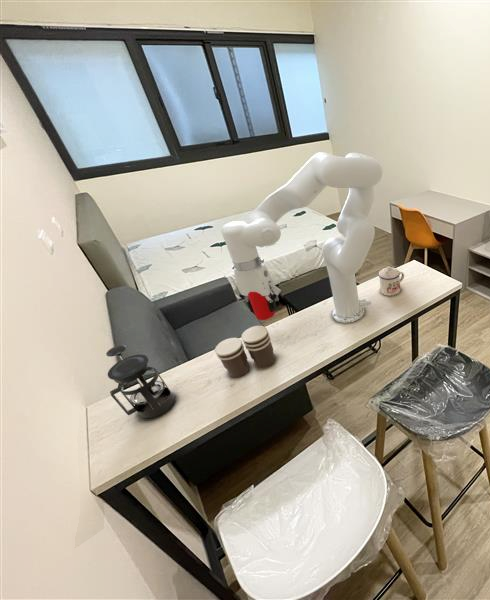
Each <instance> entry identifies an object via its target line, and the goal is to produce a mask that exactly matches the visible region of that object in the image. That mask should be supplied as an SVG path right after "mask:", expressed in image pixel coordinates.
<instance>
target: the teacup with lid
mask: <svg viewBox="0 0 490 600" xmlns="http://www.w3.org/2000/svg"><path fill="white" fill-rule="evenodd" d="M400 275H401V277H400ZM378 277H379V286H380V287H379V289H380V293H381V294H382V295H383V296H389V297H391V296H392V297H393V296H396V295H397V294H399V293H400V292H401V283H402V282H403V281H404V278H405V273H404V272H403V271H400V270H399V269H398V268H396V267H391V266H386V267H385V268H382V269H380V270H379V271H378Z"/></svg>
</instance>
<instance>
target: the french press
mask: <svg viewBox="0 0 490 600" xmlns="http://www.w3.org/2000/svg"><path fill="white" fill-rule="evenodd" d="M126 348H127V346H126V345H124V344H119V345H116V346H113V347H111V348H110V349H109V350H107V351H106V353H105V355H106V356H107V357H109V358H111V357H116V356H117V357H119V358H120V360H119V361H117V362H116V363H115V364H113V365H112V366H111V367H110V368H109V369H108V371H107V378H108V379H110V380H113V381H114V382H115V383H117V387H116V388H114V389H112V390H110V391H109V394H110V396H111V397H112V399H113V400H114V401H115V402H116V404H117V405H118V406H119V407H120V408H121V409H122V410H123V411H124V413H125V414H126V415H127V416H131V415H132V414H135V413H136V412H137V414H138V416H139V418H140V419H142V420H144V421H152V420H155V419H158V418H161V417H162V416H164V415H166V414H167V413H168V412H169V411H171V410H172V408H173V407H174V406H175V404H176V402H177V397H176V395H175V394H174V393H173V392H172V391H171V389H170V388H169V386H168V385H167V383H166V382H165V381H164V380H163V379H164V378H162V376H161V374H159V372H158V371H157V369H156V368H155V367H152V366H148V362H149V358H148V356H147V355H146V354H134V355H130V356H128V357H125V358H124V357H123V356H122V355H123V354H122V353H123V352H124V351H126ZM147 371H149V372H150V371H152V372H155V374H154V376H153V377H152V378H151V379H150V380H149V381H148V382H147V380H146V379H145V377H144V375H145V374H146V372H147ZM158 379H160V380H158ZM135 381H136V382H137V384H138V385H139V387H138V388H136V389H132V390H126V391H125V390H122V388H123V386H124V385H125V384H127V383H131V382H135ZM118 393H121V394H122V395H123V397H124V398H125V399H126V401H128V403H129V404H130V405H131V406H132V408H130V409H127V408H126V407H125V406H124V404H123V403H122V402H121V401H120V399H118V398H117V396H116V394H118ZM128 396H129V397H128ZM162 397H167V398H166V400H164V401H163V403H162V404H160V403H159V402H158V400H157V399H159V398H162ZM148 405H149V406H150V407H151V408H152V409H150V410H147V411H146V410H145V409H146V408H147V406H148Z"/></svg>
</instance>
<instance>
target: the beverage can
mask: <svg viewBox="0 0 490 600" xmlns="http://www.w3.org/2000/svg"><path fill="white" fill-rule="evenodd" d="M269 296H270V295H269ZM248 297H249V300H250V302H251V305H252V308H253V310H254V312H253V313H254V316H255V318H256V319H257V320H259V321H261V322H263V321H269V320H270V319H272V318H273V317H275V315H276V311H275V310H276V309H275V310H274V312H270V309H269V306H268V302H269V301H268V300H267V299H266V298H265V296H262V295H261V294H259V293H257V292H249V293H248ZM270 297H271V296H270Z"/></svg>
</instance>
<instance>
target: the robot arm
mask: <svg viewBox="0 0 490 600" xmlns="http://www.w3.org/2000/svg"><path fill="white" fill-rule="evenodd" d="M382 177H383V167H382V164H381V163H380V162H379V160H377V159H376V158H375V157H372V156H369V155H366V154H364V153H360V152H349V153H347V154H346V156H338V155H335V154H332V153H328V152H324V151H319V152H317V153H315V154H314V155H312V157H310V158H309V160H307V161H306V163H305V164H304V165H303V166H301V168H300V169H299V170H298V171H297V172H296V173H295V174H294V175H293V176H292V177H291V178H290V179H289V180H288V181H287V183H286V184H284V185H283V186H281V187H280V188H278V189H277V190H275V191H274V192H272V193H271V194H269V195H268V196H266V197H265V198H264V199H263V200H262V201H261V202H260V203H259V204H258V205H257V206H256V207H255V208H254V209H253V211H252V212H251V213H250V215H249V216H248V218H247V222H245V221H241V220H240V221H239V220H237V221H230V222H228V223H225V224H224V225H223V226H222V227H221V235H222V237H223V240H224V242H225V243H224V244H225V245H226V248H227V250H228V253H229V256H230V258H231V261H232V264H233V266H234V267H233V274H234V279H235V283H236V288H235V289H234V290H233V293H234V294H235V295H237V296H238V297H239V298H240V299H241V300H243V301H244V302H245V303H246V304H247V306H248V309H249V310H250V313H254V310H253V308H252V305H251V302H250V300H249V297H248V293H249V292H257V293H259V294H261V295H262V296H265V298H266V299H267V300H268V301H269V302H268V306H269V309H270V312H274V310H276V309H277V303H276V298H277V297H278V296H279V295H280V294H281V292H282V289H280V288H279V287H278V286H277V285H275V283H274V281H273V278H272V276H271V273H270V271H269V269H268V267H267V266H266V264H265V259H264V258H261V256H260V255H259V252H258V249H257V247H264V246H272V245H274V244H276V243H277V242H278V241H280V238H281V235H282V232H281V229H280V226H279V225H278V224H277V223H278V221H279V220H280V219H281V218H283V216H285V215H286V214H288V213H289V212H291V211H294V210H298V209H303V208H306V207H308V206H309V205H310V204H312V202H313V201H314V200H315V199H316V198H317V197H318V196H319V195H320V194H321V193H322V192H323V191H324V189H326V188H327V187H330V188H336V189H348V193H347V194H348V195H347V197H346V200H345V202H344V205H343V207H342V209H341V212H340V214H339V216H338V219H337V222H336V229H337V232H338V233H339V234H340V235H341V236H342V237H344V238H345V239H343V238H340V237H331V238H329V239H327V240H326V241H325V242H324V244H323V247H322V257H323V261H324V264H325V267H326V271H327V274H328V278H329V284H330V289H331V294H332V298H333V299H332V300H333V304H334V307H333V310H332V311H331V312H332V318H333V320H335V321H336V322H339V323H343V324H345V323H346V324H349V323H353V322H356V321H358V320H359V319H361V318H362V317H363V316H364V314H365V307H368V306H372V301H371V300H370V299H369V300H367V299H366V298H362V299H359V298H360V297H359V292H358V286H357V278H356V274H357V273H358V272H359V271H360V269H361V268H362V266H363V265H364V262H365V260H366V258H367V256H368V254H369V252H370V250H371V247H372V245H373V242H374V240H375V235H376V230H375V225H374V223H373V222H372V220H371V219H369V218H368V216H369V213H370V211H371V208H372V205H373V203H374V199H375V186H376V185H377V184H378V183H380V181H381V179H382ZM272 291H273V292H272ZM269 295H270V296H269Z"/></svg>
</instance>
